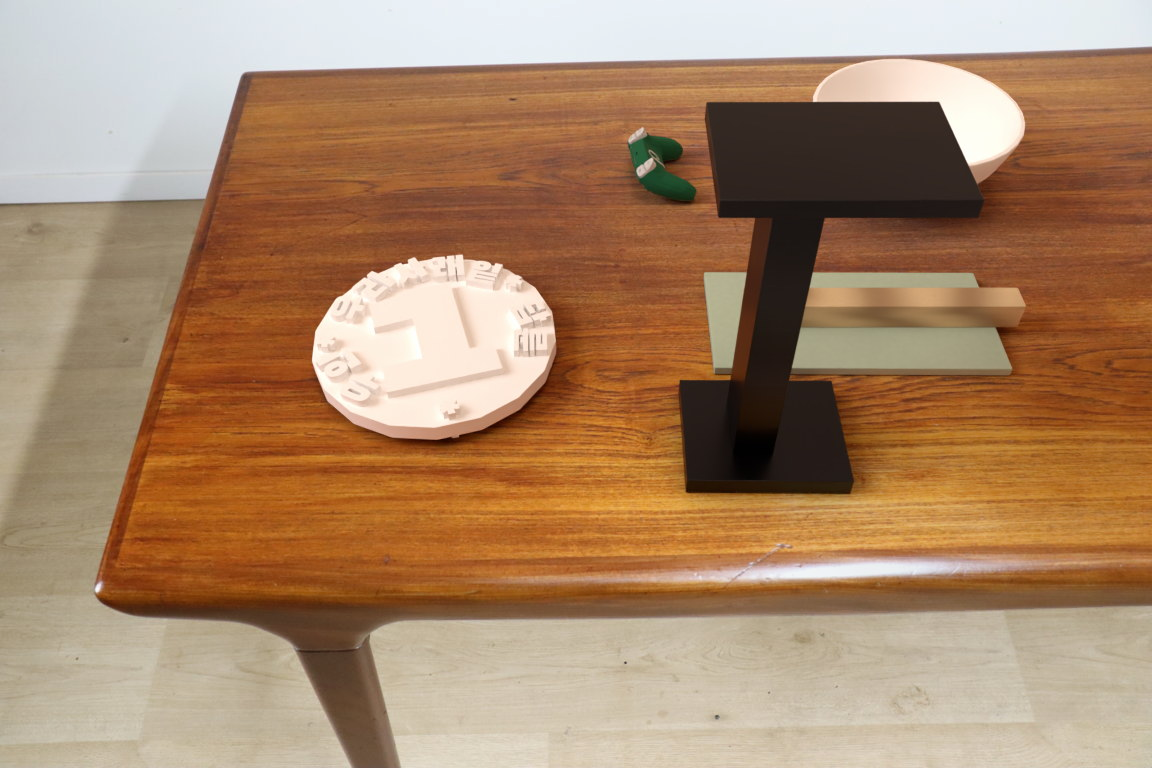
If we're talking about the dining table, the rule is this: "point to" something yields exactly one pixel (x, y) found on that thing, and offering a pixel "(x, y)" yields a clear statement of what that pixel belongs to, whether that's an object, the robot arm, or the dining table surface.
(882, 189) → the black pedestal stand
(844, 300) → the long square wooden dowel
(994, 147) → the bowl
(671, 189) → the gaming controller
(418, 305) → the giant coin
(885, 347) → the mat
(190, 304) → the dining table surface
